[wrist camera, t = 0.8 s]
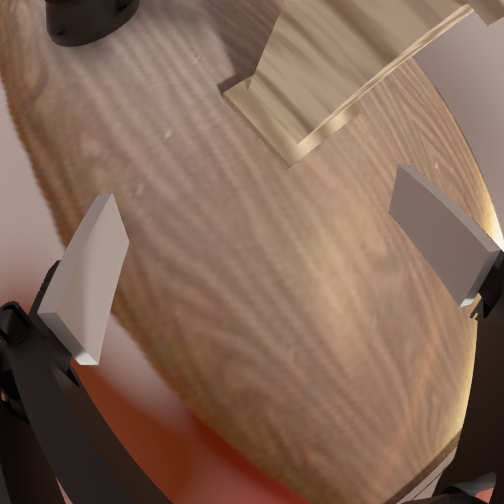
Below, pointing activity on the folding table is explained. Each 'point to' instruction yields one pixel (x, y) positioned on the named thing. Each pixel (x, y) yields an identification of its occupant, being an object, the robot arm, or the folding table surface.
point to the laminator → (428, 482)
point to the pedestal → (335, 63)
